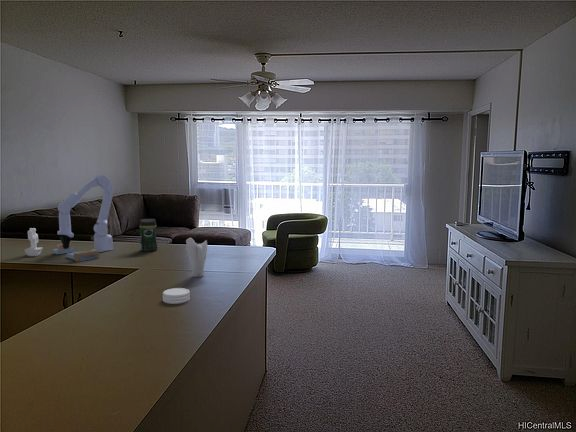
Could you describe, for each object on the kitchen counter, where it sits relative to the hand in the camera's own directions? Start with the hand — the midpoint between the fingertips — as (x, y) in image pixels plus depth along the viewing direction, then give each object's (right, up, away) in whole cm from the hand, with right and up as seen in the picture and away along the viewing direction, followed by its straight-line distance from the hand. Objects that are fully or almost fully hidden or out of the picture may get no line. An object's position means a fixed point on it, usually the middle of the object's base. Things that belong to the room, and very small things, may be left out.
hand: (66, 248), depth 244 cm
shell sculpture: (+83, -10, -43) cm, 94 cm away
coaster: (+81, -14, -78) cm, 113 cm away
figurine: (-15, -4, -4) cm, 16 cm away
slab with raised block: (-3, -3, +2) cm, 5 cm away
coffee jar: (+42, -2, +12) cm, 44 cm away
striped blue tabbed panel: (+13, -4, -10) cm, 17 cm away
